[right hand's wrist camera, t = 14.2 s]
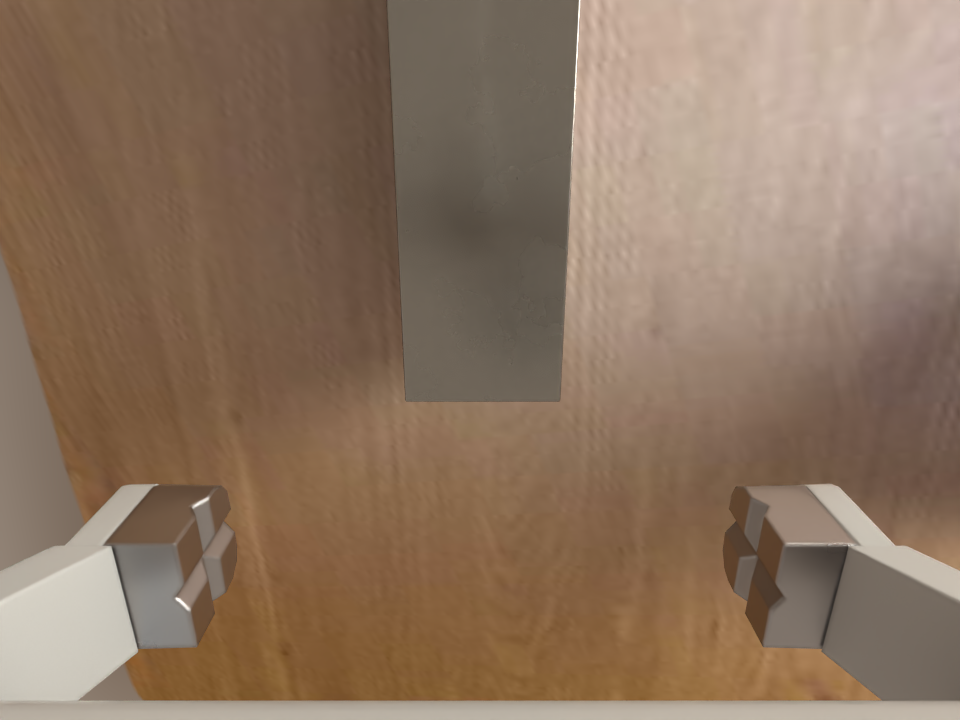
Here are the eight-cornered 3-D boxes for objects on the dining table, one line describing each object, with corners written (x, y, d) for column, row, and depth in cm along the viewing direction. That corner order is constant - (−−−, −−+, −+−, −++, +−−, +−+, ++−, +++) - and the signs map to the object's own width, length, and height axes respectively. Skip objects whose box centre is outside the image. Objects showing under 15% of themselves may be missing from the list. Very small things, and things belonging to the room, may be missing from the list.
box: (536, 314, 36) (560, 402, 25) (427, 314, 36) (405, 401, 25) (554, -225, 27) (603, -446, 16) (411, -225, 27) (364, -446, 16)
